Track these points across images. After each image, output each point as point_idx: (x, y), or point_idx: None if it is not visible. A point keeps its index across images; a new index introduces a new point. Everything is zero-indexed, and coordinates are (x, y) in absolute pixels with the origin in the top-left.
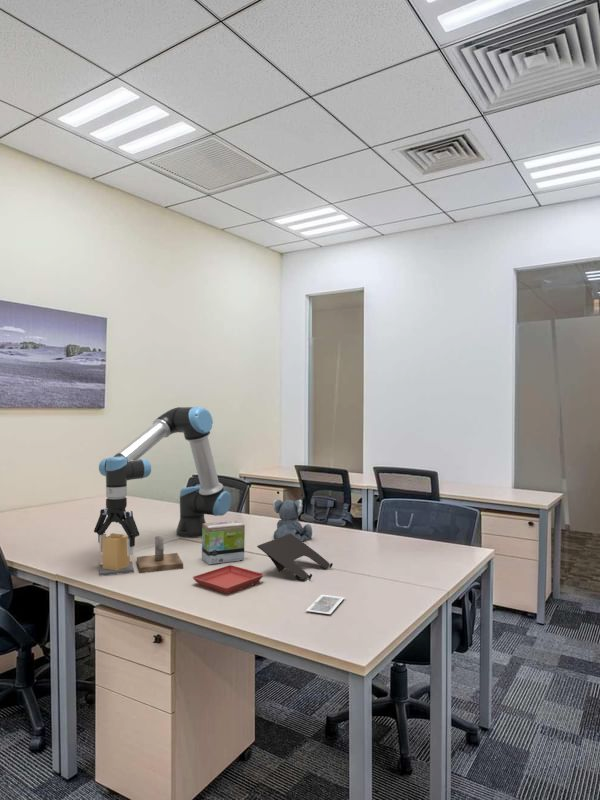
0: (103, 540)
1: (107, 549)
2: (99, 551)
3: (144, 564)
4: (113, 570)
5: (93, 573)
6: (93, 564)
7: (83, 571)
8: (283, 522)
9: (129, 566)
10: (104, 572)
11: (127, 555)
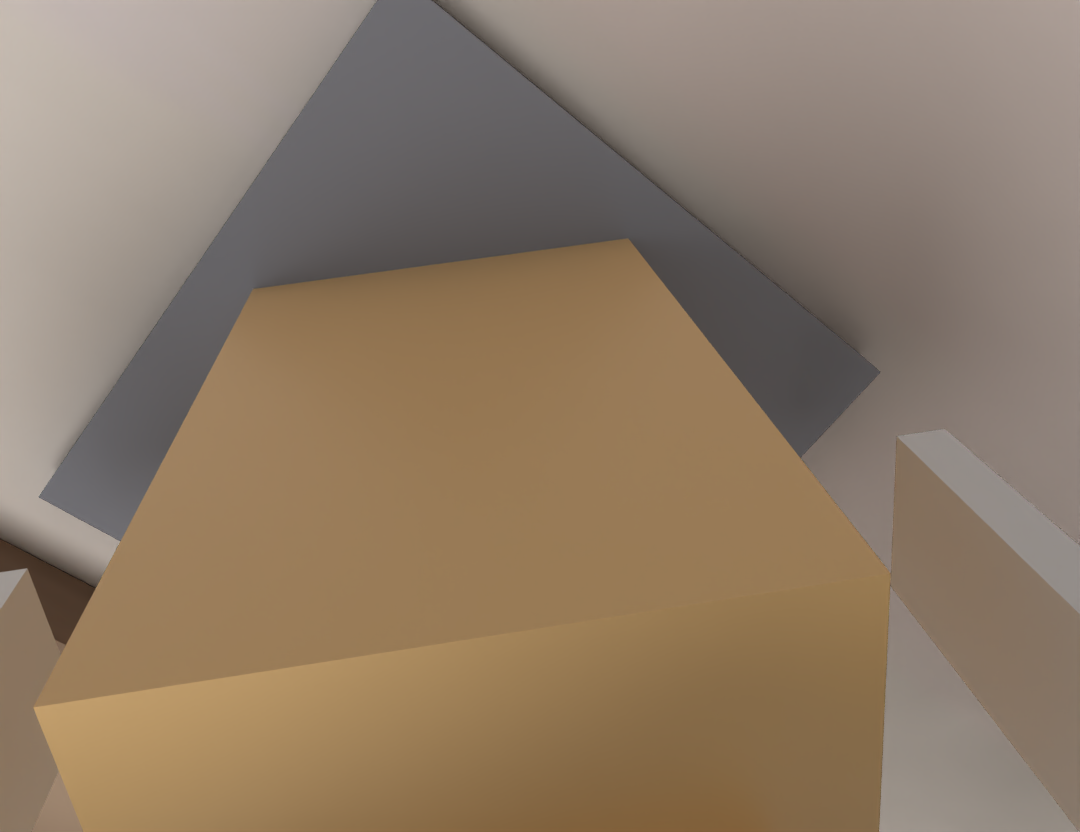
0: (799, 527)
1: (542, 415)
2: (948, 435)
3: None
4: (321, 263)
5: (658, 31)
6: (1070, 401)
7: (941, 16)
8: None
9: None
10: (354, 66)
11: (5, 576)
